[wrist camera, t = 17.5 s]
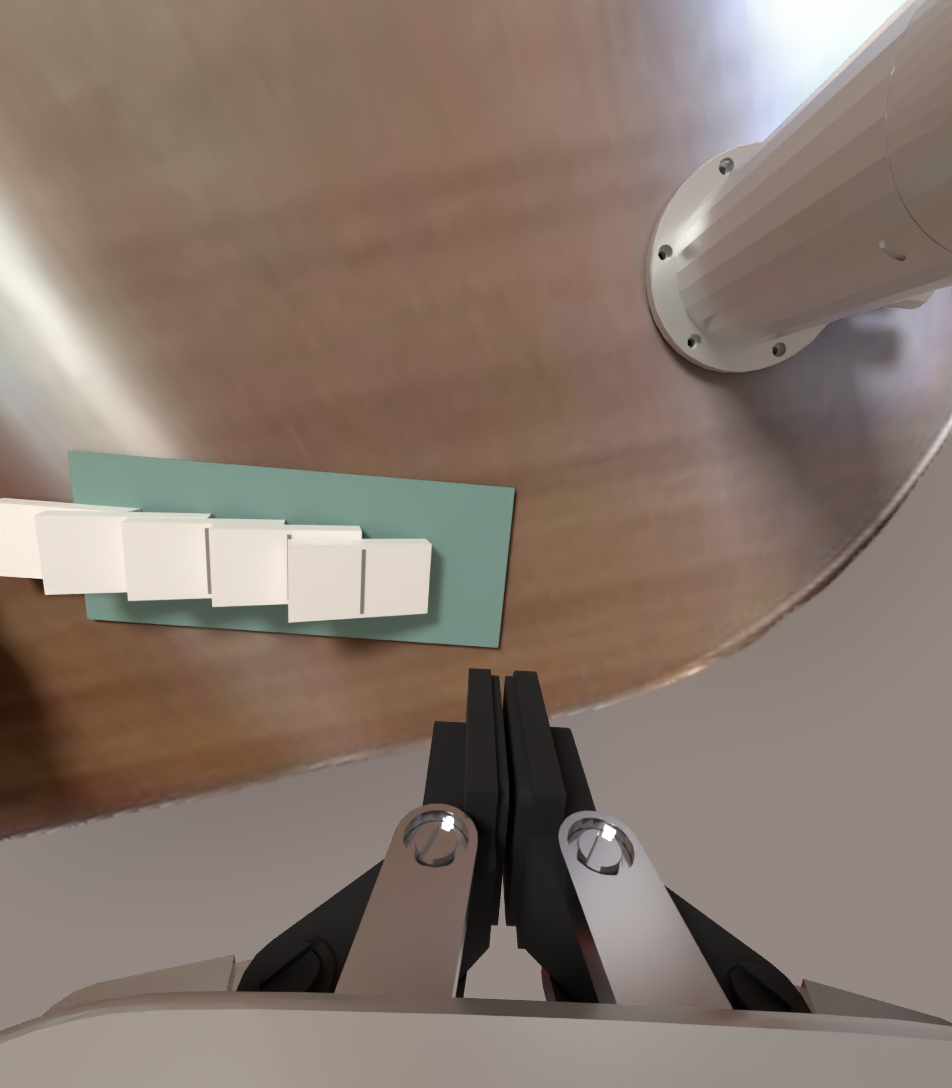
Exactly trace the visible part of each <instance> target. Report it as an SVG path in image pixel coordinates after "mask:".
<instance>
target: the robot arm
mask: <svg viewBox="0 0 952 1088" xmlns="http://www.w3.org/2000/svg"><path fill="white" fill-rule="evenodd" d="M720 171H721V172H720ZM721 173H722V174H721ZM658 254H661V255H662V256H663V260H661V259H660V258H659V256H658ZM645 284H646V290H647V297H648V304H649V307H650V309H651V312H652V315H653V318H654V321H655V323H656V325H657V327H658V328H659V330H660V332H661V334H662V335H663V337H664V339H665V340H666V341H667V342H668V343H669V344H670V345H671V346H672V348H673V349H674V350H675V351H676V352H677V353H679V354H680V355H681V356H683V357H684V358H685V359H687V360H688V361H690V362H691V363H693V364H696V365H698V366H700V367H702V368H705V369H707V370H712V371H717V372H722V373H744V372H749V371H755V370H760V369H763V368H766V367H769V366H772V365H776V364H778V363H780V362H782V361H784V360H786V359H788V358H790V357H792V356H794V355H795V354H797V353H798V352H799V351H801V350H802V349H803V348H804V347H806V346H807V345H808V344H810V343H811V342H812V341H813V340H814V339H815V338H816V337H817V336H818V335H819V334H820V332H821V331H822V330H823V329H824V328H825V327H826V326H827V324H828V323H829V322H833V321H836V320H839V319H843V318H846V317H849V316H852V315H856V314H859V313H862V312H866V311H869V310H872V309H875V308H879V307H882V306H884V307H894V308H904V309H914V308H918V307H920V306H921V305H923V304H924V303H925V302H927V300H928V299H929V298H930V296H931V295H932V294H933V292H934V291H935V290H938V289H941V288H945V287H948V286H951V285H952V0H907V1H906V2H905V3H904V4H903V5H902V6H901V7H900V8H899V9H898V10H897V11H896V12H895V13H893V14H892V15H891V16H890V17H889V18H888V19H887V20H886V21H885V22H884V23H883V24H882V25H881V26H880V27H879V28H878V29H877V30H876V31H875V32H874V33H873V34H872V35H871V36H870V37H869V38H868V39H867V40H866V41H865V42H864V43H863V44H862V45H861V46H860V47H859V48H858V49H857V50H856V51H855V52H854V53H853V54H852V55H851V56H850V57H849V58H848V59H847V60H846V61H845V62H844V63H843V64H842V65H841V66H840V67H839V68H838V69H837V70H836V71H835V72H834V73H832V74H831V75H830V76H829V77H828V78H827V79H826V80H825V81H824V82H823V83H822V84H821V85H820V86H819V87H818V88H817V89H816V90H815V91H814V92H813V93H812V94H811V95H810V96H809V97H808V98H807V99H806V100H805V101H804V102H803V103H802V104H801V105H800V106H799V107H798V108H797V109H796V110H795V111H794V112H793V113H792V114H791V115H790V116H789V117H788V118H787V119H786V120H785V121H784V122H783V123H782V124H781V125H780V126H779V127H778V128H777V129H776V130H775V131H774V132H773V133H771V134H770V135H769V136H768V137H767V138H766V139H765V140H764V141H763V142H753V143H749V144H744V145H740V146H736V147H734V148H731V149H729V150H727V151H725V152H723V153H720V154H718V155H716V156H715V157H713V158H712V159H710V160H709V161H708V162H706V163H705V164H703V165H702V166H701V167H699V168H698V169H697V170H696V171H695V172H694V173H693V174H692V175H691V176H690V177H689V178H688V179H687V180H686V181H685V182H684V183H683V184H682V185H681V186H680V188H679V189H678V190H677V191H676V193H675V194H674V195H673V196H672V198H671V199H670V200H669V202H668V203H667V205H666V207H665V209H664V210H663V212H662V214H661V216H660V217H659V219H658V221H657V224H656V227H655V229H654V232H653V235H652V237H651V240H650V244H649V249H648V255H647V260H646V281H645ZM688 340H690V342H691V347H689V346H688ZM772 349H773V353H772ZM502 875H503V884H504V902H505V917H506V918H505V919H506V925H507V926H516V930H517V943H518V948H520V949H526V950H527V951H528V953H530V955H531V956H532V957H533V958H534V959H535V960H536V961H537V962H538V963H539V964H540V965H541V966H542V969H541V976H542V984H543V990H544V993H545V998H546V1001H526V1000H501V999H477V998H465V997H466V990H467V981H468V970H469V969H470V968H471V967H472V966H473V964H474V963H475V962H476V961H477V960H478V959H479V958H480V957H481V955H483V953H484V952H485V951H486V950H487V949H488V948H489V943H490V932H491V925H498V918H499V906H500V896H501V885H502ZM0 1088H952V1023H950V1022H948V1021H946V1020H944V1019H942V1018H938V1017H935V1016H931V1015H928V1014H924V1013H921V1012H917V1011H914V1010H910V1009H907V1008H904V1007H900V1006H896V1005H893V1004H889V1003H886V1002H883V1001H879V1000H875V999H872V998H868V997H865V996H862V995H858V994H855V993H851V992H847V991H844V990H840V989H837V988H834V987H830V986H827V985H823V984H820V983H816V982H813V981H809V980H806V979H803V981H802V984H801V987H799V986H795V985H793V984H792V983H791V981H790V980H789V979H788V978H787V977H786V976H785V975H784V974H783V973H782V972H780V971H779V970H778V969H777V968H776V967H775V966H773V965H772V964H771V963H770V962H768V961H767V960H766V959H764V958H763V957H762V956H760V955H759V954H758V953H756V952H755V951H753V950H752V949H751V948H749V947H748V946H747V945H745V944H744V943H742V942H741V941H740V940H738V939H737V938H735V937H734V936H733V935H732V934H730V933H729V932H727V931H726V930H725V929H723V928H722V927H721V926H719V925H718V924H716V923H715V922H714V921H712V920H711V919H710V918H708V917H707V916H706V915H704V914H703V913H701V912H700V911H699V910H697V909H696V908H695V907H693V906H692V905H691V904H689V903H688V902H686V901H685V900H684V899H682V898H681V897H680V896H678V895H677V894H675V893H674V892H673V891H671V890H670V889H669V888H667V887H666V886H665V885H663V883H662V881H661V879H660V877H659V876H658V874H657V872H656V870H655V868H654V867H653V865H652V863H651V861H650V859H649V858H648V856H647V854H646V852H645V850H644V849H643V847H642V845H641V843H640V841H639V840H638V839H637V837H636V836H635V835H634V833H633V832H632V831H631V830H630V829H629V828H628V827H627V826H626V825H625V824H623V823H622V822H621V821H619V820H617V819H616V818H614V817H612V816H610V815H608V814H604V813H601V812H597V811H596V809H595V806H594V803H593V800H592V796H591V793H590V790H589V787H588V783H587V780H586V777H585V774H584V770H583V767H582V764H581V761H580V757H579V754H578V751H577V748H576V745H575V741H574V738H573V735H572V732H571V730H570V729H569V728H560V727H550V726H549V721H548V717H547V713H546V709H545V705H544V701H543V697H542V693H541V688H540V684H539V680H538V676H537V673H536V672H531V671H514V673H513V676H506V677H505V684H504V697H503V709H502V702H501V691H500V680H499V676H495V675H491V669H473V668H469V679H468V695H467V712H466V723H462V722H442V721H435V723H434V729H433V736H432V743H431V750H430V758H429V765H428V772H427V780H426V787H425V794H424V801H423V806H420V807H418V808H416V809H414V810H412V811H410V812H409V813H408V814H407V815H406V816H405V817H404V818H403V819H402V820H401V821H400V823H399V825H398V827H397V828H396V830H395V833H394V836H393V838H392V841H391V844H390V846H389V849H388V851H387V854H386V857H385V859H384V860H382V861H381V862H379V863H378V864H377V865H375V866H374V867H373V868H371V869H370V870H369V871H367V872H366V873H364V874H363V875H362V876H360V877H359V878H358V879H356V880H355V881H353V882H352V883H351V884H349V885H348V886H346V887H345V888H344V889H342V890H341V891H340V892H338V893H337V894H335V895H334V896H333V897H331V898H330V899H329V900H327V901H326V902H325V903H323V904H322V905H320V906H319V907H318V908H316V909H315V910H313V911H312V912H311V913H309V914H308V915H307V916H305V917H304V918H302V919H301V920H300V921H298V922H297V923H296V924H294V925H293V926H291V927H290V928H289V929H287V930H286V931H285V932H283V933H282V934H280V935H279V936H278V937H276V938H275V939H274V940H272V941H271V942H270V943H269V944H267V945H266V946H265V947H264V948H263V949H262V950H261V951H260V952H259V953H258V954H256V956H255V957H254V959H252V960H247V961H242V962H238V963H235V955H230V956H225V957H221V958H215V959H211V960H206V961H201V962H196V963H191V964H186V965H182V966H177V967H172V968H167V969H163V970H157V971H153V972H148V973H143V974H138V975H133V976H129V977H124V978H119V979H114V980H110V981H104V982H99V983H95V984H93V985H90V986H87V987H85V988H82V989H79V990H77V991H74V992H73V993H71V994H70V995H69V996H67V997H65V998H64V999H62V1000H61V1001H59V1002H57V1003H56V1004H55V1005H53V1006H52V1007H51V1008H50V1009H49V1010H47V1011H46V1013H44V1014H43V1015H42V1016H41V1017H37V1018H35V1019H32V1020H29V1021H26V1022H23V1023H21V1024H18V1025H15V1026H12V1027H10V1028H7V1029H4V1030H1V1031H0Z"/></svg>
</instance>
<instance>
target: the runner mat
mask: <svg viewBox="0 0 952 1088" xmlns="http://www.w3.org/2000/svg"><path fill="white" fill-rule="evenodd" d="M68 459H69V468H70V476H71V484H72V493H73V501H74V503H75V504H88V505H101V506H113V507H126V508H139V509H141V512H159V513H207V514H212V518H216V519H272V520H285V525H340V526H360V528H361V530H362V539H426V540H428V541H429V542H430V543H431V544H432V549H431V564H430V579H429V594H428V609H427V613H426V614H411V615H396V616H381V617H366V618H351V619H336V620H321V621H306V622H291V623H288V604H276V605H251V606H225V607H212V598H201V599H172V600H143V601H128V595H127V592H121V593H87V594H85V602H86V610H87V619H95V620H109V621H123V622H138V623H152V624H166V625H181V626H195V627H209V628H223V629H238V630H252V631H266V632H281V633H295V634H309V635H323V636H338V637H352V638H366V639H381V640H395V641H409V642H423V643H438V644H452V645H466V646H481V647H495V648H498V645H499V635H500V626H501V616H502V607H503V597H504V587H505V578H506V568H507V559H508V549H509V540H510V530H511V520H512V511H513V501H514V492H515V488H511V487H499V486H487V485H475V484H463V483H451V482H439V481H427V480H415V479H403V478H391V477H379V476H367V475H355V474H343V473H331V472H319V471H307V470H295V469H283V468H271V467H259V466H247V465H235V464H223V463H211V462H199V461H187V460H175V459H163V458H151V457H139V456H127V455H115V454H103V453H91V452H79V451H68Z"/></svg>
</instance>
